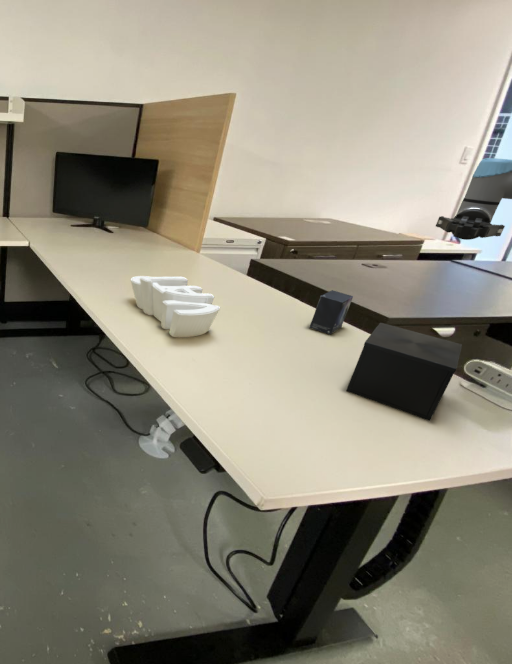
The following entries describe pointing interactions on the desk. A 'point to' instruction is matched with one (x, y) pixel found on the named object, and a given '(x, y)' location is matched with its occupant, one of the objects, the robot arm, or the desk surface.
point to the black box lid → (415, 346)
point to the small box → (330, 312)
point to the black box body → (399, 382)
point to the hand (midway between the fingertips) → (465, 232)
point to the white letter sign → (175, 304)
